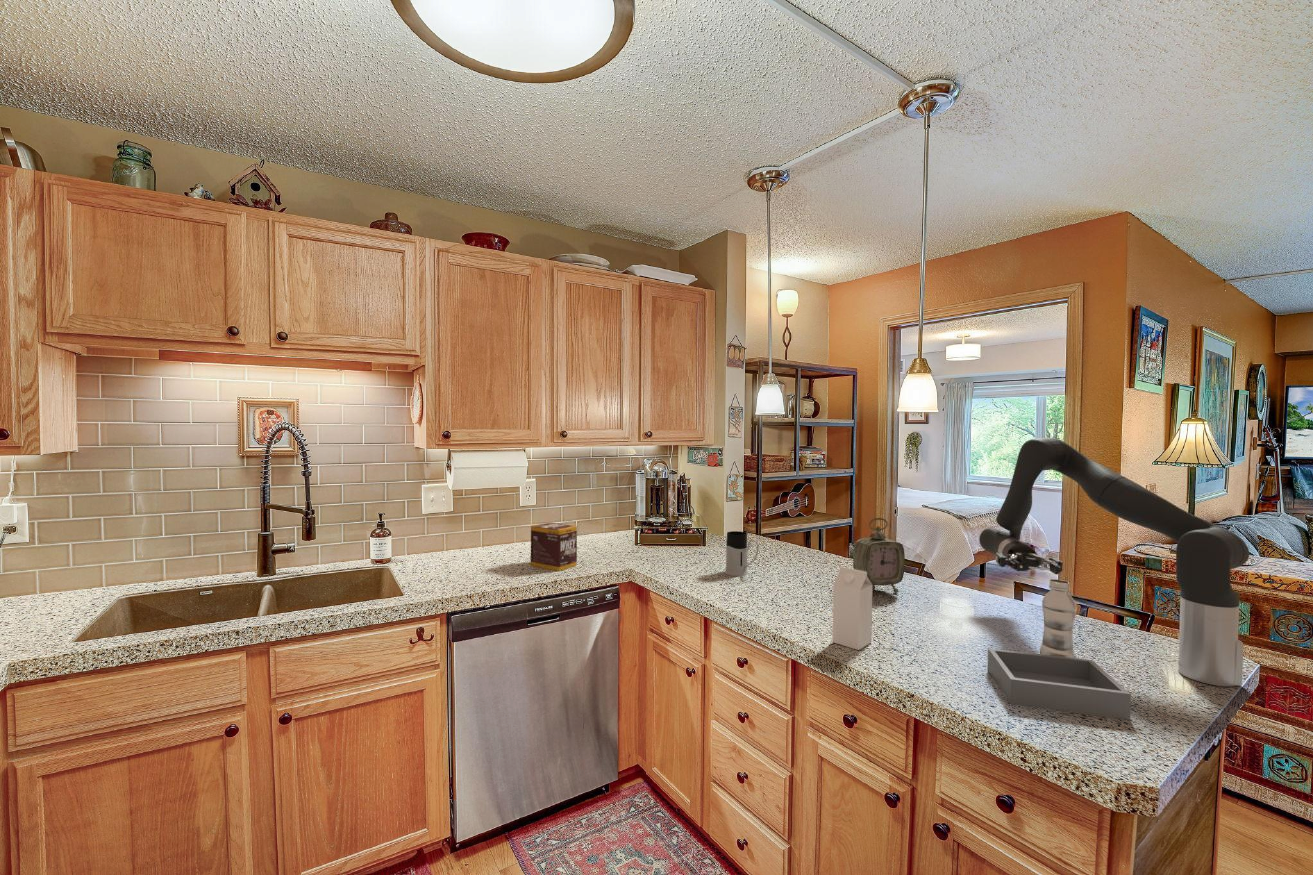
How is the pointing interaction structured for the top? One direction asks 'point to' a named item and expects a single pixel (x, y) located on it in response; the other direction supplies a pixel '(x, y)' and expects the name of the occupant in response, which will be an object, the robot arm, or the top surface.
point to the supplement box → (554, 546)
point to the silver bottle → (1058, 620)
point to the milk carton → (852, 608)
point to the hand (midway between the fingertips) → (1037, 568)
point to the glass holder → (737, 553)
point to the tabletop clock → (879, 558)
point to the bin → (1058, 683)
